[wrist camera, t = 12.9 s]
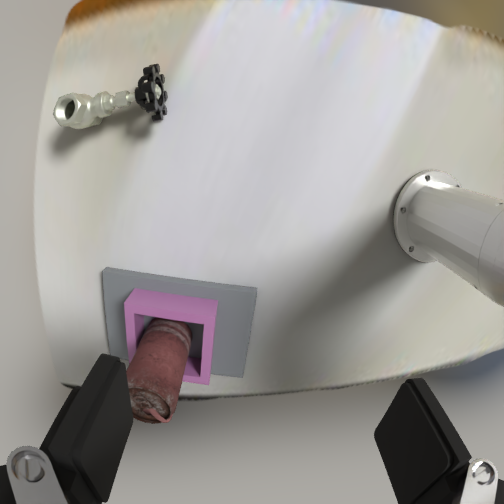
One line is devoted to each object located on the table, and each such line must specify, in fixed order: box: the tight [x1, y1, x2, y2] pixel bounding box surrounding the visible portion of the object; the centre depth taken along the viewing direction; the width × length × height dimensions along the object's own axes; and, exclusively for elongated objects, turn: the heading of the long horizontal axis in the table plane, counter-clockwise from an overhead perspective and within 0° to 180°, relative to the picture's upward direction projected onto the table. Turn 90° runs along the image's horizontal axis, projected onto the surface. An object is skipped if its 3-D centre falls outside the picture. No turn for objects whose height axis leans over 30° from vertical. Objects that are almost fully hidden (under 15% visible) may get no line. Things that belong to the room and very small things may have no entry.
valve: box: [53, 64, 168, 129], centre depth 28 cm, size 7×7×12 cm
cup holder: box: [102, 267, 257, 385], centre depth 38 cm, size 20×14×6 cm
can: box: [126, 317, 192, 424], centre depth 32 cm, size 6×6×14 cm
